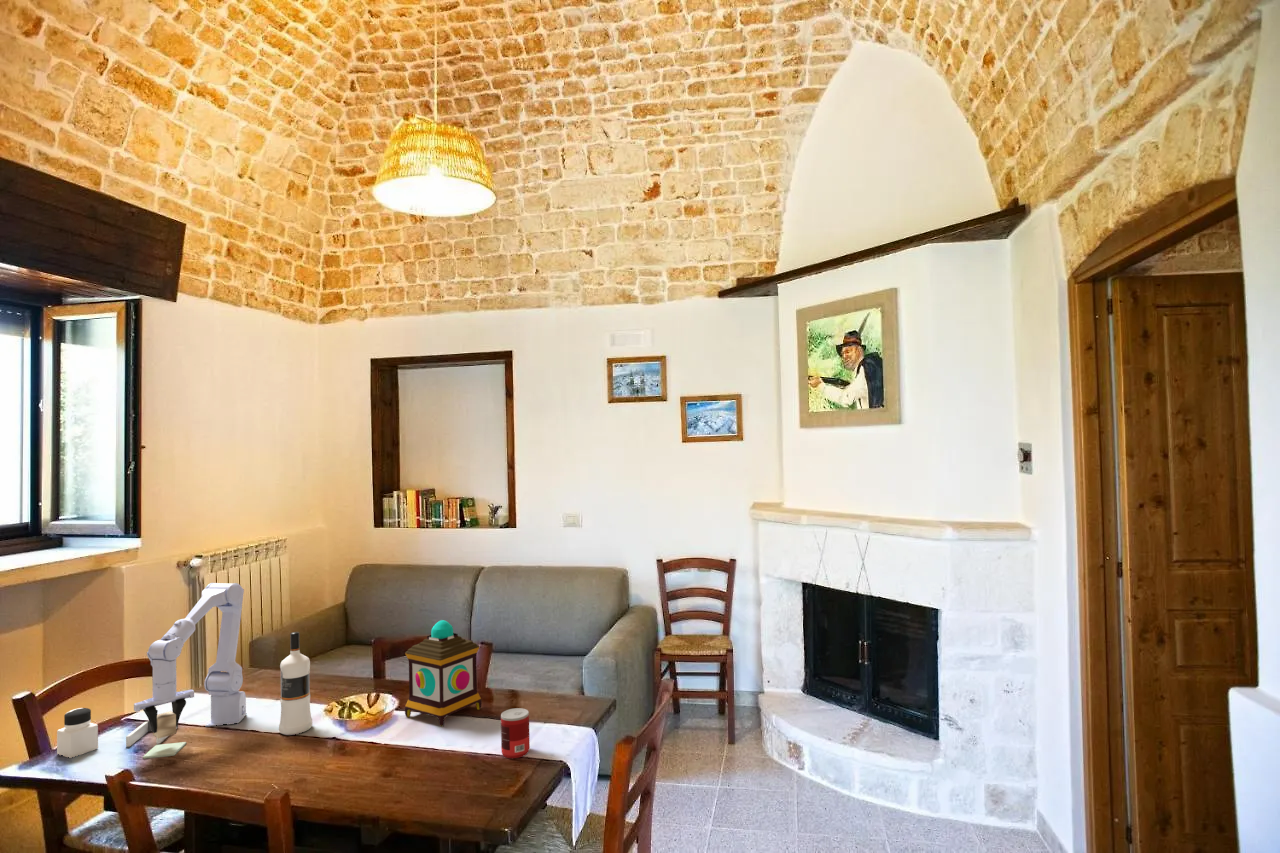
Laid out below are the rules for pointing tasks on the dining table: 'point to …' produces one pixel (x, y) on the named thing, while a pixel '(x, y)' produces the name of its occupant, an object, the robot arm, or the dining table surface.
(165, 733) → the beech block
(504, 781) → the dining table surface
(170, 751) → the tile
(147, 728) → the channel
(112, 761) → the dining table surface
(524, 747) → the canned food
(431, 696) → the decorative lantern
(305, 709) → the vodka
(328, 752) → the dining table surface
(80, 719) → the medicine bottle
